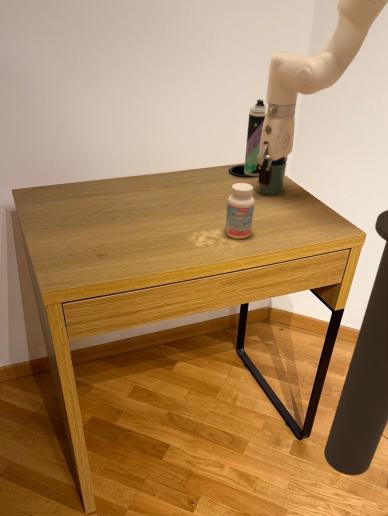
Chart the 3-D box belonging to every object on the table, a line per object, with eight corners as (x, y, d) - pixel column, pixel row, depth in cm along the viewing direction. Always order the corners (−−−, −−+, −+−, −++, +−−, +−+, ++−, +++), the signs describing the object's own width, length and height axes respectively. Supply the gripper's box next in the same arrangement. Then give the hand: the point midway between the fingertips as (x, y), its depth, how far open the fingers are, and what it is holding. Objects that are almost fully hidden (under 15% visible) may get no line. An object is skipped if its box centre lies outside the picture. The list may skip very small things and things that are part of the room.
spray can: (241, 170, 149) (247, 98, 136) (257, 169, 150) (265, 97, 138) (248, 177, 145) (255, 102, 132) (265, 175, 146) (273, 101, 134)
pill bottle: (229, 240, 113) (233, 192, 106) (222, 228, 117) (225, 182, 110) (254, 238, 114) (259, 191, 107) (246, 227, 118) (251, 180, 111)
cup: (274, 185, 140) (278, 156, 135) (286, 193, 135) (291, 164, 130) (253, 187, 138) (256, 158, 133) (264, 196, 133) (268, 167, 128)
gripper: (275, 119, 116) (266, 192, 128) (309, 106, 127) (298, 174, 138) (248, 113, 120) (242, 185, 131) (284, 101, 131) (275, 168, 142)
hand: (271, 179), depth 135 cm, fingers closed on cup, 7 cm apart
